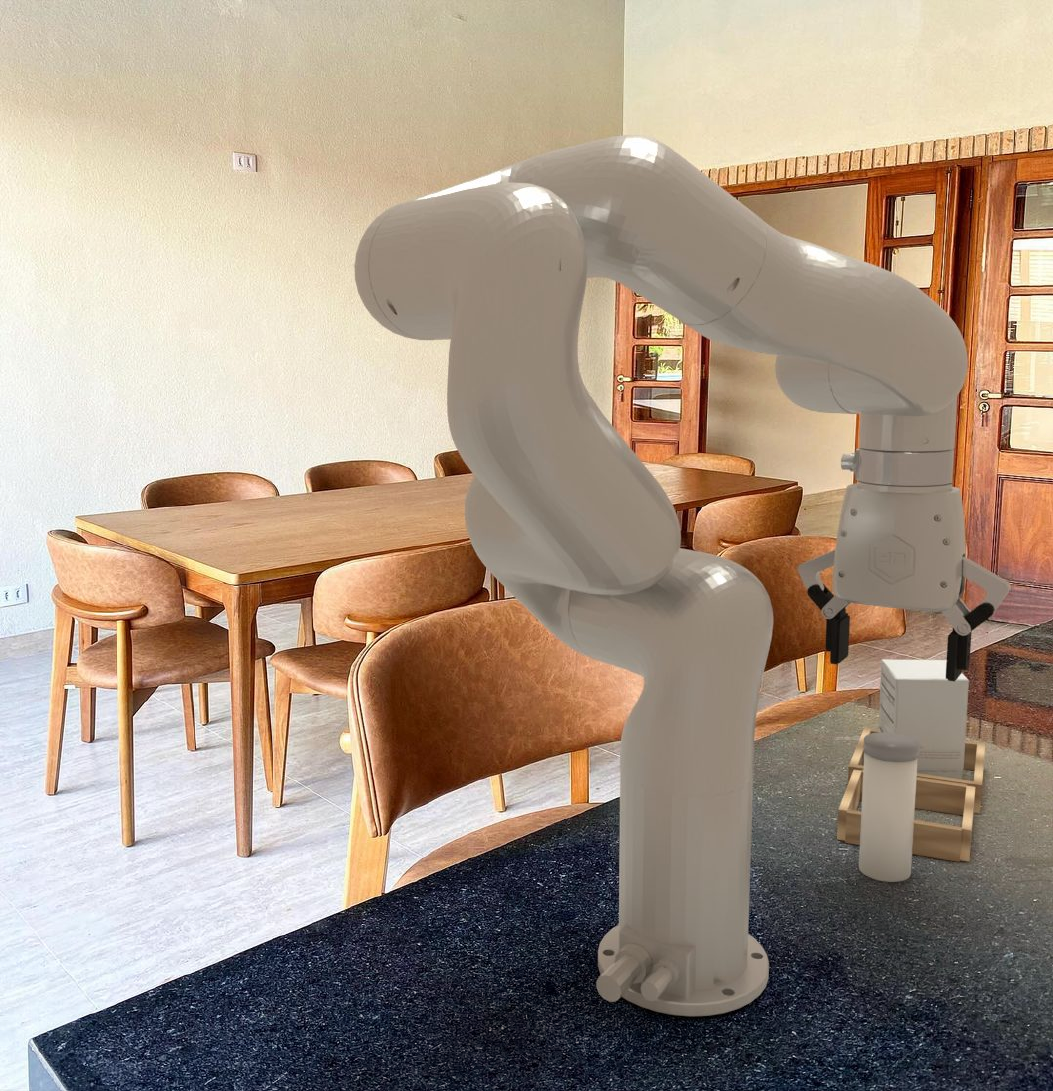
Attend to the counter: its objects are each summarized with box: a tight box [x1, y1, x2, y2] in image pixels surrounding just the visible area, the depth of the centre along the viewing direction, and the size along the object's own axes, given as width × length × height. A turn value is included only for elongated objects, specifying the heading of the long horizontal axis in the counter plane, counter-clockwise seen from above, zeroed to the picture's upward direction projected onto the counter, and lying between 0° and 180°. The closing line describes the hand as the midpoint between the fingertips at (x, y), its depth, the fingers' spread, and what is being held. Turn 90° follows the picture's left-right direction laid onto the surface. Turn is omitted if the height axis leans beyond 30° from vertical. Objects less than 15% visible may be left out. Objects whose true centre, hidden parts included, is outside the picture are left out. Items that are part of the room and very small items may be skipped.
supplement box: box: [877, 658, 970, 780], centre depth 115 cm, size 7×7×13 cm
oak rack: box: [836, 727, 986, 863], centre depth 110 cm, size 25×13×3 cm, turn 156°
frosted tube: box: [858, 732, 920, 883], centre depth 95 cm, size 5×5×12 cm
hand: (894, 668), depth 93 cm, fingers open, 9 cm apart
